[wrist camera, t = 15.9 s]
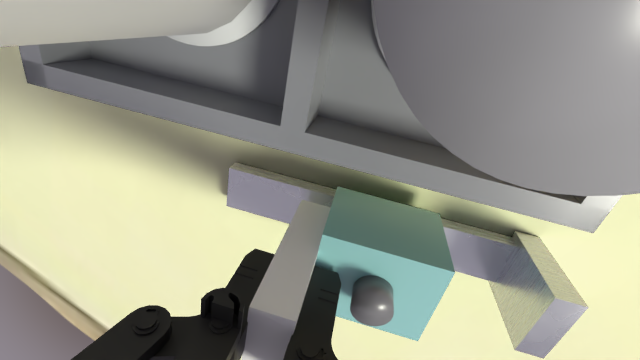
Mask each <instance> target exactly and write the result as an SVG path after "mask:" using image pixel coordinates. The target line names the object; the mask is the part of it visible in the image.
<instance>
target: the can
mask: <svg viewBox="0 0 640 360" xmlns="http://www.w3.org/2000/svg"><path fill="white" fill-rule="evenodd" d="M251 1H252V0H0V47H9V46H24V45H39V44H54V43H68V42H83V41H98V40H113V39H128V38H143V37H158V36H172V35H187V34H202V33H208V32H211V31H213V30H215V29H217V28H219V27H221V26H224V25H226V24H228V23H230V22H232V21H233V20H234V19H235V17H236V16H237V15H238V14H239V13H240V12H241V11H242V10H243V9H244V8H245V7H246V6H247V5H248V4H249V3H250V2H251Z"/></svg>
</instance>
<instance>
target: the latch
mask: <svg viewBox="0 0 640 360" xmlns="http://www.w3.org/2000/svg"><path fill="white" fill-rule="evenodd" d="M315 266H317V267H321V268H324V269H327V270H331V271H334V272H337V273H338V274H339V277H340V281H341V289H340V294H339V300H338V304H337V311H336V316H337V317H341V318H344V319H347V320H350V321H354V322H357V323H360V324H363V325H367V326H370V327H373V328H376V329H380V330H383V331H386V332H390V333H393V334H396V335H399V336H403V337H406V338H409V339H412V340H416V341H418V340H419V338H420V336H421V334H422V332H423V331H424V329H425V327H426V325H427V323H428V321H429V320H430V318H431V316H432V314H433V312H434V310H435V309H436V307H437V305H438V303H439V301H440V299H441V297H442V296H443V294H444V292H445V290H446V288H447V286H448V285H449V283H450V281H451V279H452V277H453V275H454V274H455V270H454V266H453V262H452V259H451V255H450V251H449V247H448V243H447V240H446V236H445V232H444V228H443V224H442V221H441V217H440V214H438V213H435V212H431V211H427V210H423V209H420V208H416V207H412V206H409V205H405V204H401V203H398V202H394V201H390V200H387V199H383V198H379V197H376V196H372V195H368V194H364V193H361V192H357V191H353V190H350V189H346V188H342V187H339V186H338V187H337V190H336V193H335V196H334V199H333V202H332V206H331V209H330V212H329V215H328V218H327V221H326V224H325V228H324V231H323V234H322V238H321V242H320V246H319V251H318V255H317V258H316V262H315Z"/></svg>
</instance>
